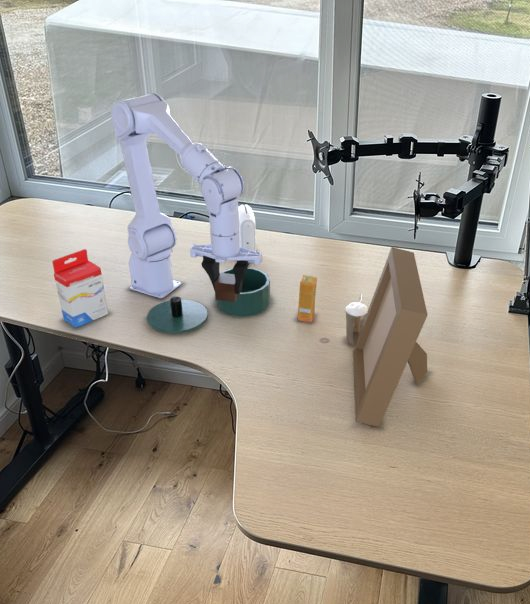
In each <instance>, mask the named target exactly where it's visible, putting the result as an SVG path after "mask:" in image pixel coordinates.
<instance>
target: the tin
mask: <svg viewBox="0 0 530 604" xmlns="http://www.w3.org/2000/svg"><path fill="white" fill-rule="evenodd" d="M220 273H227V274H234V271H233V267H231V268H228V269H225V270H222V271H221V272H220ZM214 301H215V306H216V308H217V309H218V310H219V312H221V313H223V314H225V315H228V316H232V317H238V318H239V317H241V318H245V317H252V316H256V315H259V314H262V313H263V312H264V311H266V310H267V309H268V308H269V307H270V303H271V278H270V277H269V274H268V273H266V272H264V271H263V270H261V269H258V268H256V267H255V268H254V267H250V266H248V268H247V271H246V273H245V276H244V280H243V284H242V290H241V293H240V294H239V296H238V298H237V299H236V301H235V302H230V301H222V300H216V296H215V295H214Z"/></svg>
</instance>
